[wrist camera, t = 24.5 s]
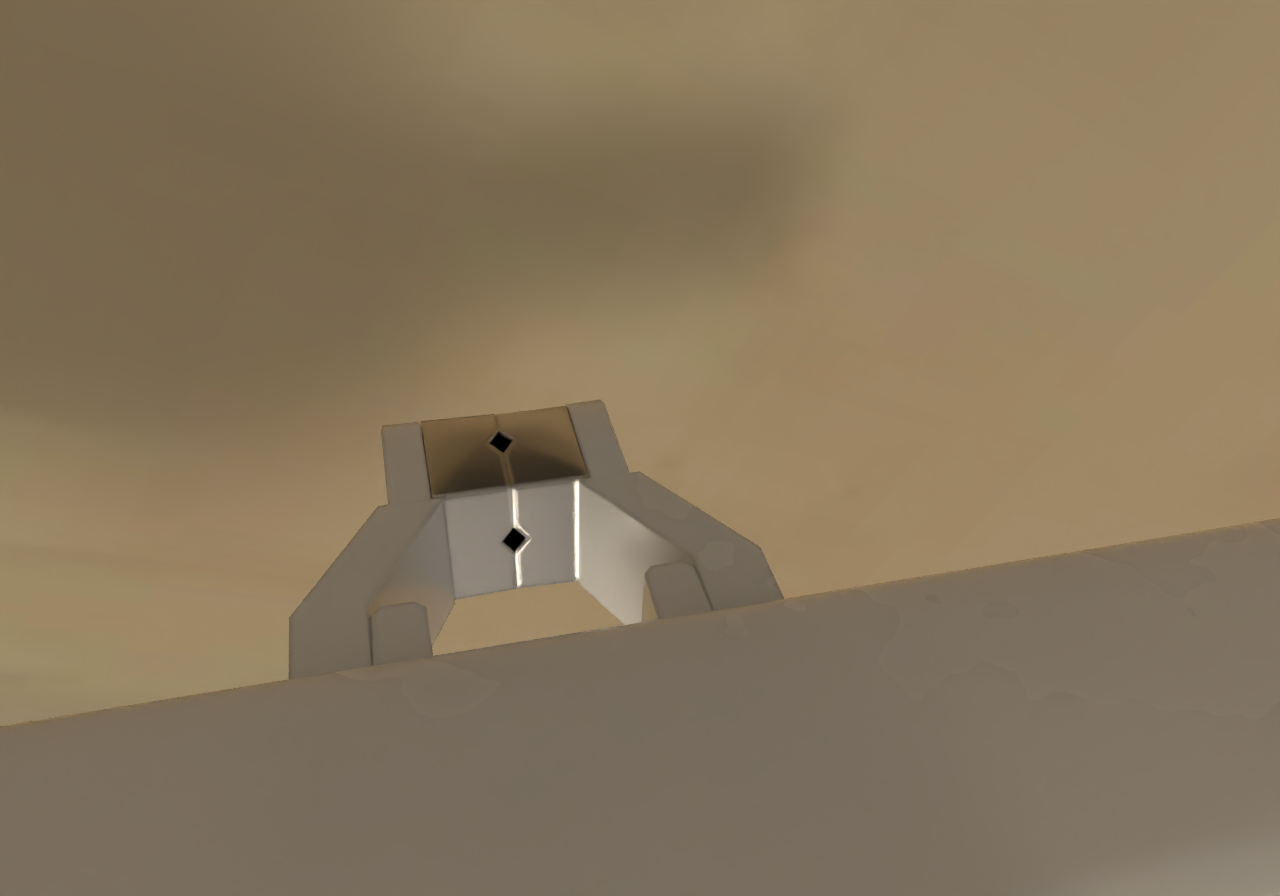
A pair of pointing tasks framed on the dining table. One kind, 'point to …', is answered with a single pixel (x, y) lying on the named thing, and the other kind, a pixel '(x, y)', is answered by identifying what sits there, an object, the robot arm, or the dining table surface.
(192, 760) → the robot arm
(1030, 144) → the dining table surface
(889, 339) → the dining table surface
